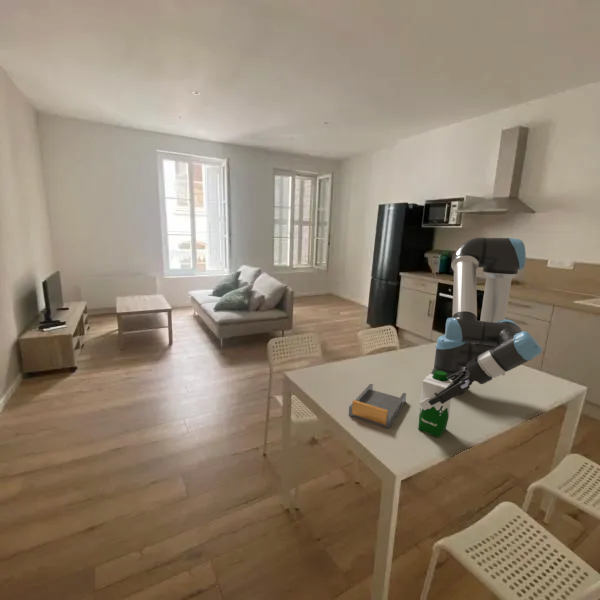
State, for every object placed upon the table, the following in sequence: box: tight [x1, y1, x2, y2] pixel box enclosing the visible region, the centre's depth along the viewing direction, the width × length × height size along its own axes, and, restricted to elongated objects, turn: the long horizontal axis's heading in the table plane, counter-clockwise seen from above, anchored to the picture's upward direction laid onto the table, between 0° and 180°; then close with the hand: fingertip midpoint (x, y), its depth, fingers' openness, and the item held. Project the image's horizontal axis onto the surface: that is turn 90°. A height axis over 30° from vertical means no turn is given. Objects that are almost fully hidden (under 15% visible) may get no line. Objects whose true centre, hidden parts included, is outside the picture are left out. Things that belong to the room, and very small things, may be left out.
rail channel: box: [348, 383, 407, 430], centre depth 122 cm, size 22×15×6 cm
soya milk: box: [417, 370, 453, 438], centre depth 108 cm, size 9×9×20 cm
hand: (424, 400), depth 110 cm, fingers closed on soya milk, 9 cm apart
